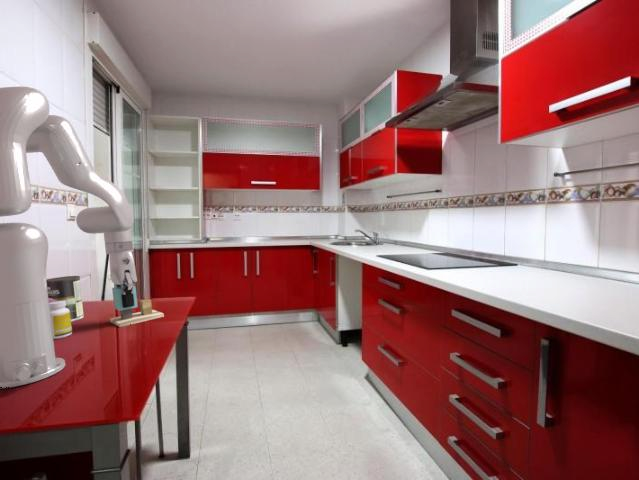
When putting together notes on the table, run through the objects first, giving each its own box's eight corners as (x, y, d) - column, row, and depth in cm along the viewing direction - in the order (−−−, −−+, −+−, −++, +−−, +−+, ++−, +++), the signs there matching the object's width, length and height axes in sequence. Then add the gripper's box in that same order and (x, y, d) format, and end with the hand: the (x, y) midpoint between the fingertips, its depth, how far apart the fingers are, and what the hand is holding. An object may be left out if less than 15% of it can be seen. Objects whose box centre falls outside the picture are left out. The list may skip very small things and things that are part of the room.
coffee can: (62, 324, 114) (57, 281, 113) (39, 324, 117) (34, 281, 116) (91, 315, 124) (87, 275, 123) (69, 315, 127) (64, 275, 126)
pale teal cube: (137, 307, 112) (135, 286, 112) (119, 310, 109) (117, 289, 108) (132, 304, 116) (130, 284, 116) (114, 308, 112) (112, 287, 112)
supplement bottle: (77, 332, 104) (73, 299, 103) (61, 339, 98) (57, 304, 98) (59, 333, 104) (56, 300, 104) (43, 339, 99) (39, 305, 98)
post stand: (163, 316, 116) (161, 292, 115) (119, 327, 107) (116, 300, 106) (152, 312, 123) (150, 289, 122) (110, 321, 114) (107, 296, 113)
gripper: (141, 247, 108) (148, 306, 109) (123, 246, 120) (129, 299, 121) (114, 250, 102) (121, 312, 104) (98, 248, 115) (104, 304, 116)
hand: (125, 304), depth 112 cm, fingers closed on pale teal cube, 5 cm apart
